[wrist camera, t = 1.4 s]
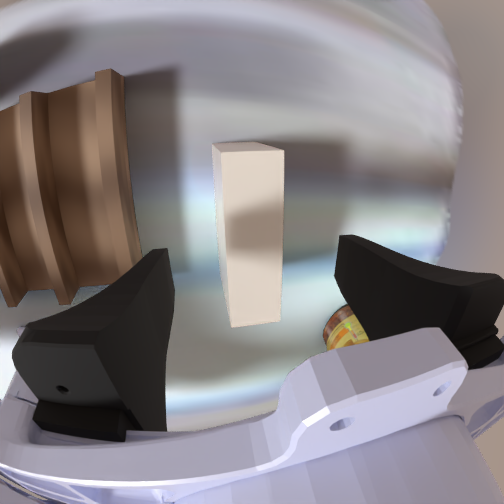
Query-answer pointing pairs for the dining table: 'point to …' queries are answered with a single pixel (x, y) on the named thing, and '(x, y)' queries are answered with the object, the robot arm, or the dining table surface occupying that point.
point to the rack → (66, 191)
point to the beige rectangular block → (250, 229)
